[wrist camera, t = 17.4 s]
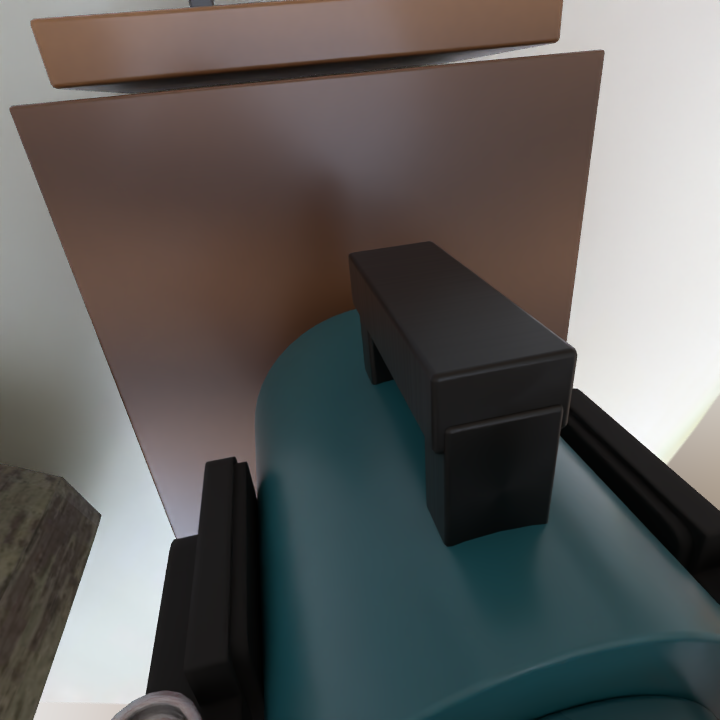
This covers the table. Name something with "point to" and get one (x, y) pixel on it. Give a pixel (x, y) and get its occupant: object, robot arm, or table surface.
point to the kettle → (455, 524)
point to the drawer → (281, 40)
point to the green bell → (37, 578)
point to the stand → (298, 221)
